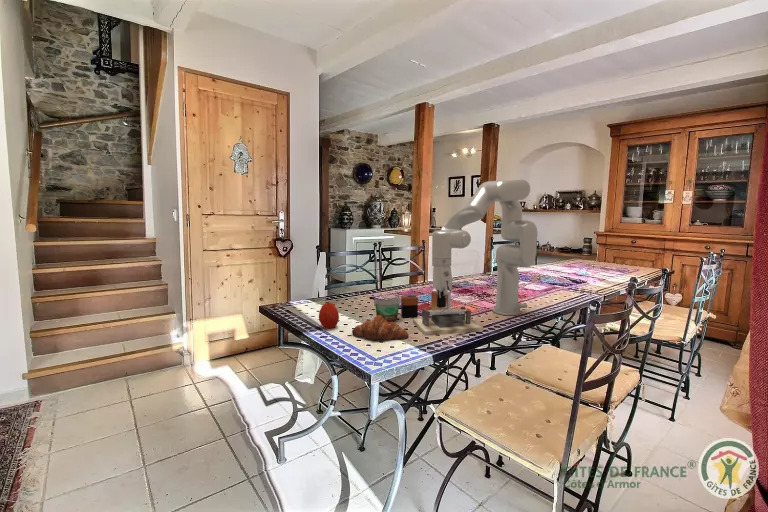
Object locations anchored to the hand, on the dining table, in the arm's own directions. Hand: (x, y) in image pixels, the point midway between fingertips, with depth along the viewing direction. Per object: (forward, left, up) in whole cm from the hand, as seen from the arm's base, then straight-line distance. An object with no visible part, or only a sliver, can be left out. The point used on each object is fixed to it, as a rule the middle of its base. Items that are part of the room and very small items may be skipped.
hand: (441, 306), depth 149 cm
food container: (+18, -12, -9) cm, 24 cm away
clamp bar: (-3, 0, -3) cm, 4 cm away
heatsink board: (-3, 0, -8) cm, 9 cm away
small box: (-8, -20, -9) cm, 23 cm away
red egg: (+44, -9, -9) cm, 46 cm away
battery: (+8, -17, -9) cm, 21 cm away
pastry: (+26, +5, -9) cm, 28 cm away
